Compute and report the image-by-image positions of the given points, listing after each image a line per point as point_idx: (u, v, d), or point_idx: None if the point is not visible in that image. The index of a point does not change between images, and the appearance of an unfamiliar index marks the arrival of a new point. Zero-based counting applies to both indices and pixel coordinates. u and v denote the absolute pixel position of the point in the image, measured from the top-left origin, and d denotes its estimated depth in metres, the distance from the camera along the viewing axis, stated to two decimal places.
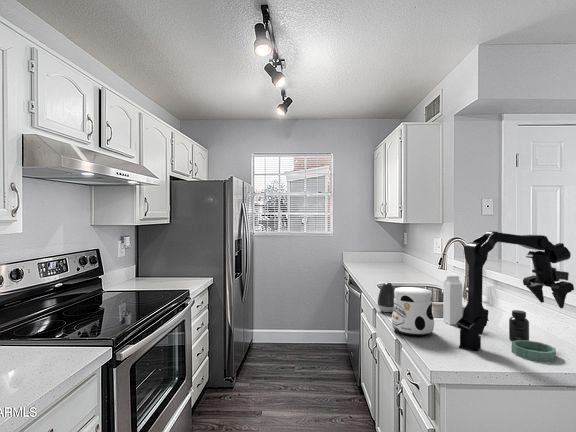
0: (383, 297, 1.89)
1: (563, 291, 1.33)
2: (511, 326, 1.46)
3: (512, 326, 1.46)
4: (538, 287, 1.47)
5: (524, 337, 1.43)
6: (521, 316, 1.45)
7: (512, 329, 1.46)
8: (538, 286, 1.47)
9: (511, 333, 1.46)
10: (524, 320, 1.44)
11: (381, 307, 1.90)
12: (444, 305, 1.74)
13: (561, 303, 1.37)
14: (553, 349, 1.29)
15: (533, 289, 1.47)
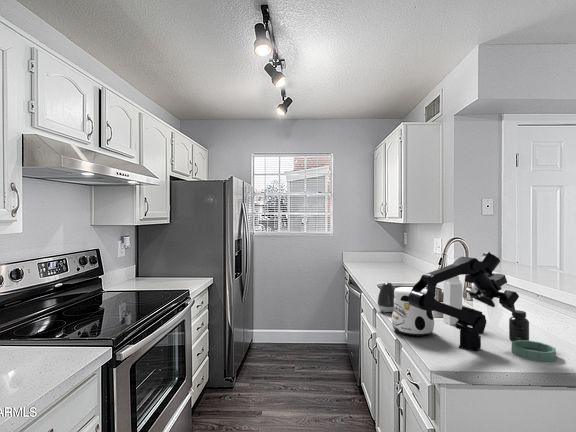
0: (383, 297, 1.89)
1: (512, 304, 1.33)
2: (511, 326, 1.46)
3: (512, 326, 1.46)
4: None
5: (524, 337, 1.43)
6: (521, 316, 1.45)
7: (512, 329, 1.46)
8: None
9: (511, 333, 1.46)
10: (524, 320, 1.44)
11: (381, 307, 1.90)
12: None
13: (512, 309, 1.39)
14: (553, 349, 1.29)
15: (482, 300, 1.47)
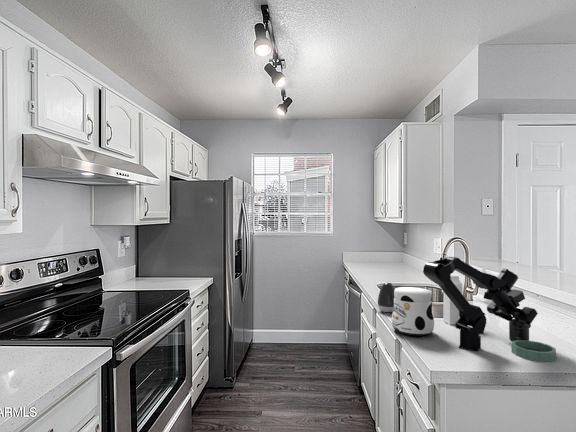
0: (383, 297, 1.89)
1: (530, 321, 1.36)
2: (511, 326, 1.46)
3: (512, 326, 1.46)
4: None
5: (524, 337, 1.43)
6: None
7: (512, 329, 1.46)
8: None
9: (511, 333, 1.46)
10: None
11: (381, 307, 1.90)
12: (444, 305, 1.74)
13: (528, 324, 1.43)
14: (553, 349, 1.29)
15: (502, 316, 1.49)
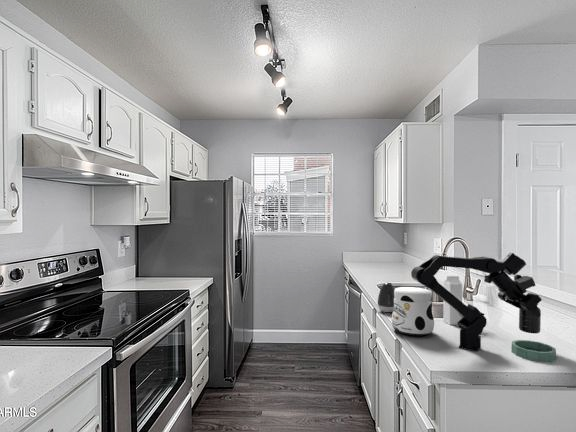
0: (383, 297, 1.89)
1: (531, 307, 1.29)
2: (520, 314, 1.39)
3: (520, 314, 1.39)
4: None
5: (532, 326, 1.36)
6: None
7: (520, 317, 1.39)
8: None
9: (519, 321, 1.39)
10: None
11: (381, 307, 1.90)
12: (444, 305, 1.74)
13: (536, 313, 1.34)
14: (553, 349, 1.29)
15: (512, 303, 1.43)
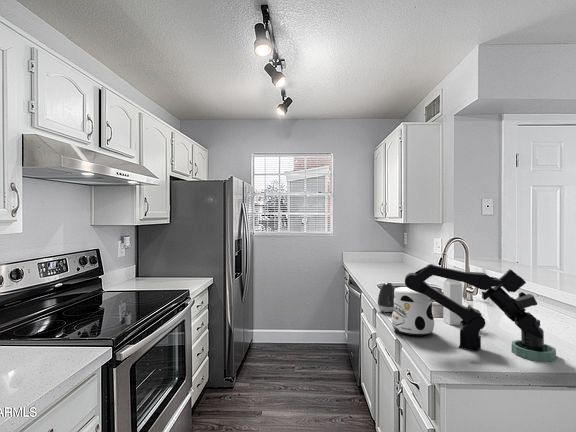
0: (383, 297, 1.89)
1: (523, 327, 1.25)
2: (521, 334, 1.34)
3: (521, 334, 1.34)
4: None
5: (531, 347, 1.30)
6: None
7: (521, 337, 1.34)
8: None
9: (521, 342, 1.34)
10: None
11: (381, 307, 1.90)
12: None
13: (537, 334, 1.28)
14: (553, 349, 1.29)
15: None
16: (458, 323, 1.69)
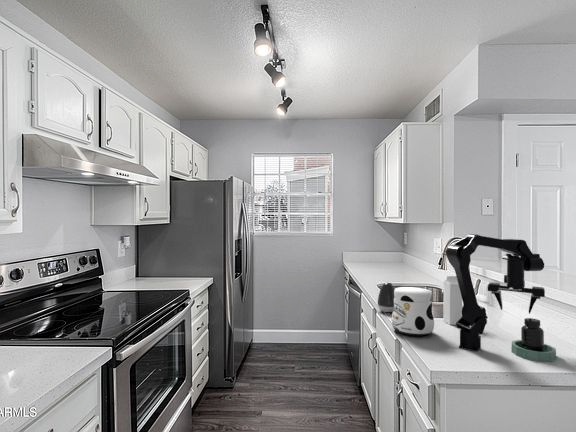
0: (383, 297, 1.89)
1: (544, 294, 1.36)
2: (521, 334, 1.34)
3: (521, 334, 1.34)
4: (500, 294, 1.46)
5: (531, 347, 1.30)
6: (530, 324, 1.31)
7: (521, 337, 1.34)
8: (500, 293, 1.46)
9: (521, 342, 1.34)
10: (533, 329, 1.30)
11: (381, 307, 1.90)
12: (444, 305, 1.74)
13: (531, 308, 1.39)
14: (553, 349, 1.29)
15: (500, 295, 1.44)
16: None
